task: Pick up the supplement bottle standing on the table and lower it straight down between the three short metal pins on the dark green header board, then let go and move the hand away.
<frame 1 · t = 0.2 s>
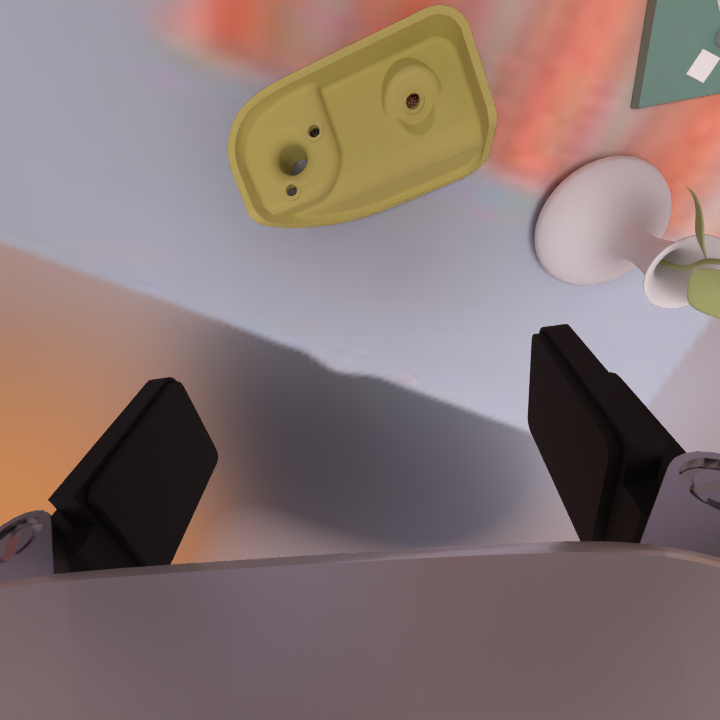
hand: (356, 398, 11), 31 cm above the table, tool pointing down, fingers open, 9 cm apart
plastic component: (361, 133, 35), on the table
flower in vase: (590, 212, 37), on the table
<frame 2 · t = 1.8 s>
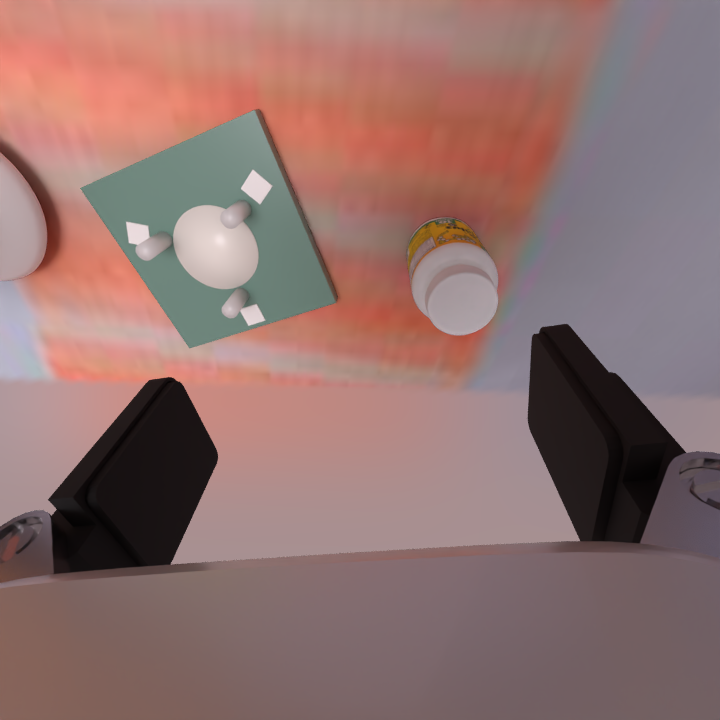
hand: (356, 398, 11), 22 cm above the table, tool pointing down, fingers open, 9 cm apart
header board: (221, 244, 31), on the table
supplement bottle: (441, 250, 31), on the table
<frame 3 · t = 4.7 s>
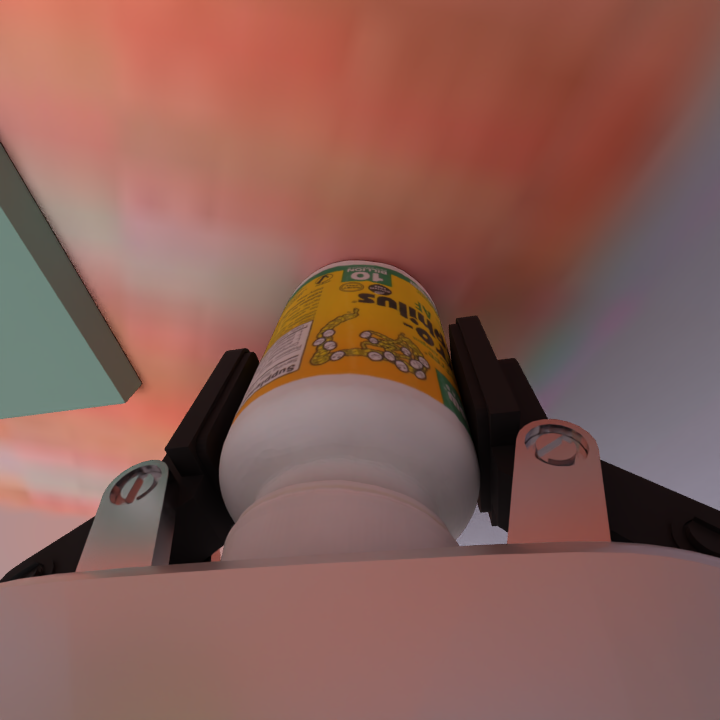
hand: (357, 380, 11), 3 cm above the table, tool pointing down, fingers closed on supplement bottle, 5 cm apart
supplement bottle: (362, 327, 14), on the table, touching gripper
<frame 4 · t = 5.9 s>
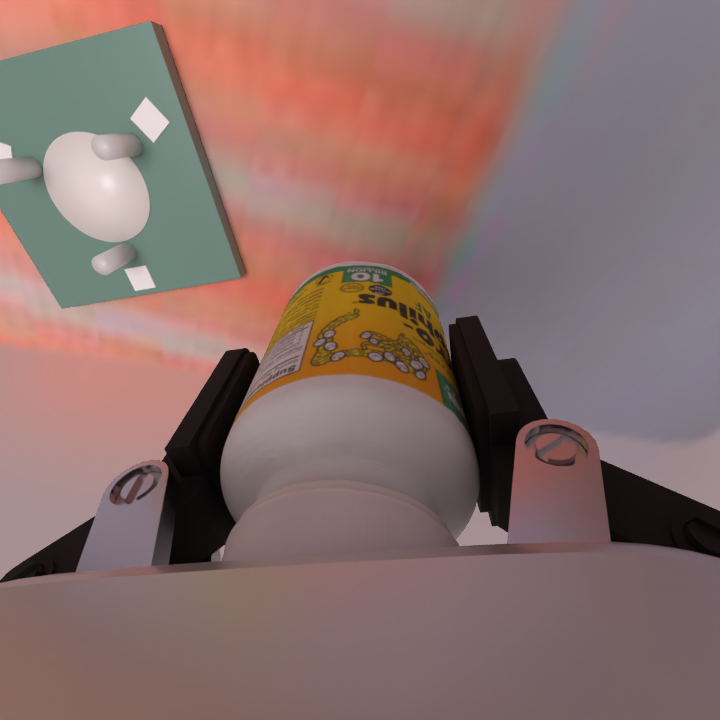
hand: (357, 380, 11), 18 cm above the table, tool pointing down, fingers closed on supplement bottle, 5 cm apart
header board: (109, 187, 26), on the table
supplement bottle: (362, 327, 14), point 15 cm above the table, touching gripper
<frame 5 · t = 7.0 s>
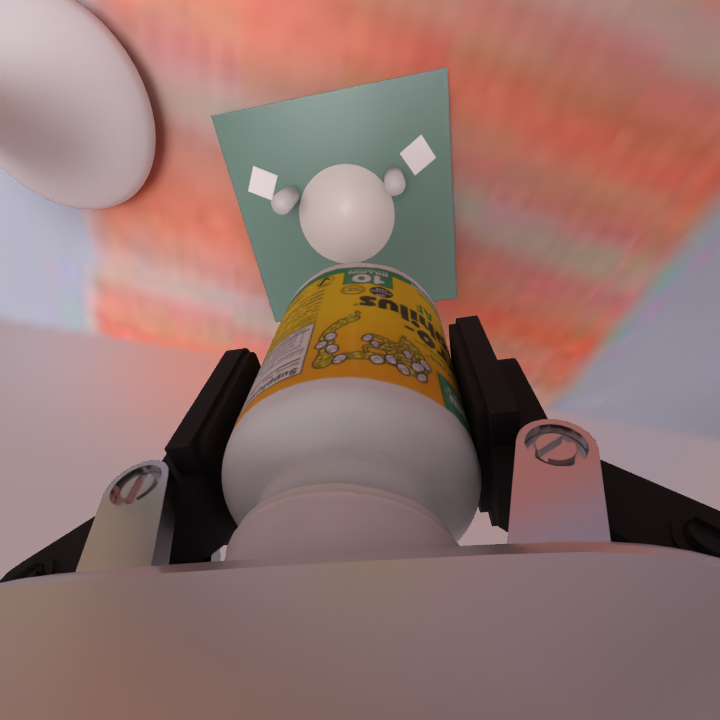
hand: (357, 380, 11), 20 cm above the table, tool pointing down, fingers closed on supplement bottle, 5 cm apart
flower in vase: (88, 103, 25), on the table
header board: (348, 212, 28), on the table
supplement bottle: (363, 329, 14), point 16 cm above the table, touching gripper
when the fingers open (5 cm above the table, at t = 9.7 s): supplement bottle stays where it is, resting on header board.
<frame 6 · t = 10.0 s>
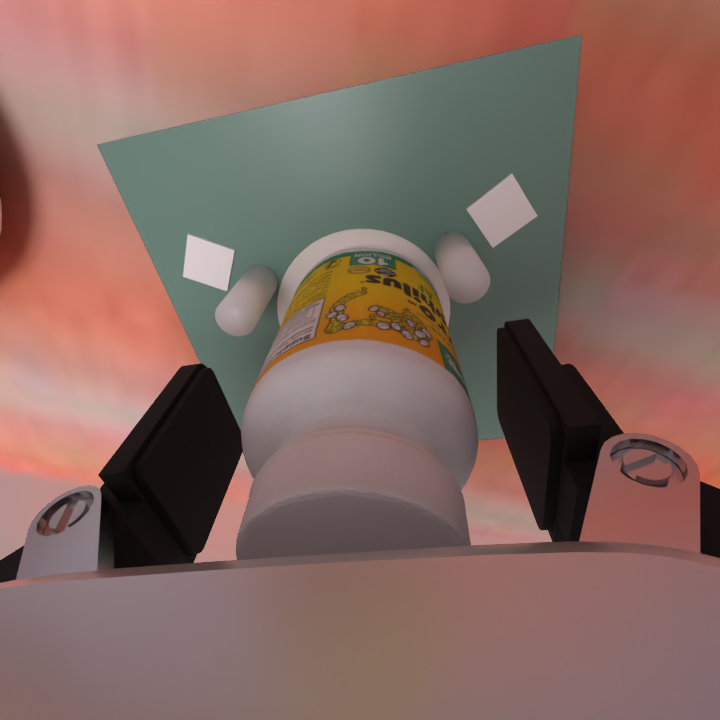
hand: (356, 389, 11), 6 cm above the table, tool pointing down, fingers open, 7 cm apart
header board: (364, 302, 16), on the table
supplement bottle: (367, 312, 15), point 1 cm above the table, touching header board
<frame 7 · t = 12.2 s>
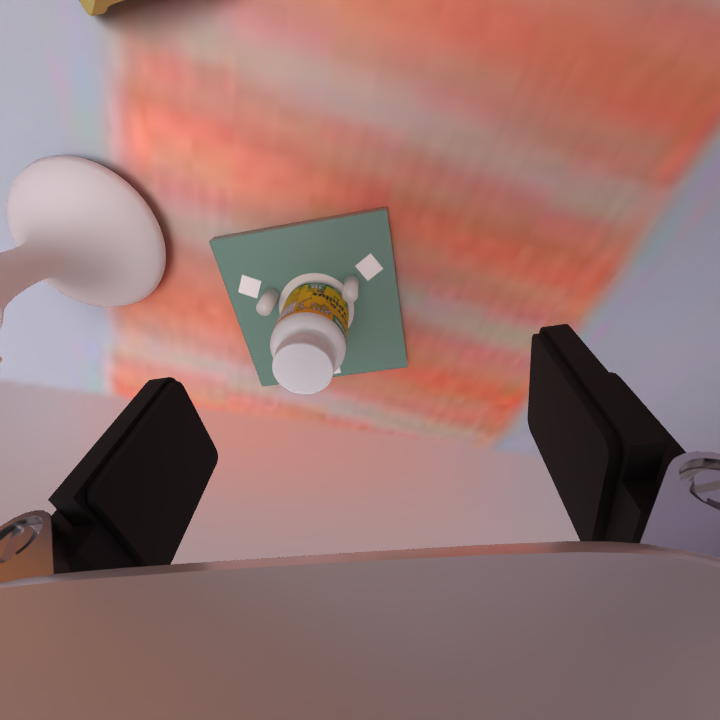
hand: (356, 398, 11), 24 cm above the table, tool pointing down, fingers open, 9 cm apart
flower in vase: (112, 228, 32), on the table
header board: (318, 303, 35), on the table
supplement bottle: (318, 307, 34), point 1 cm above the table, touching header board
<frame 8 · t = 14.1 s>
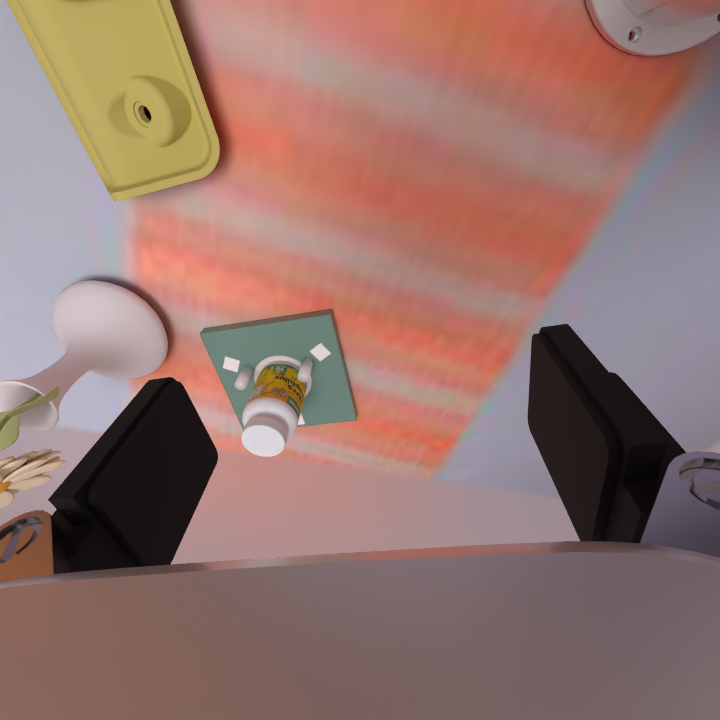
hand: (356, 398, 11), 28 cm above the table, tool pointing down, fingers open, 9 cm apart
plastic component: (126, 42, 30), on the table
flower in vase: (128, 321, 43), on the table
header board: (285, 373, 45), on the table
supplement bottle: (284, 378, 44), point 1 cm above the table, touching header board
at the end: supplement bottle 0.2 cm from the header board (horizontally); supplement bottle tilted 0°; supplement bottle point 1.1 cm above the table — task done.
